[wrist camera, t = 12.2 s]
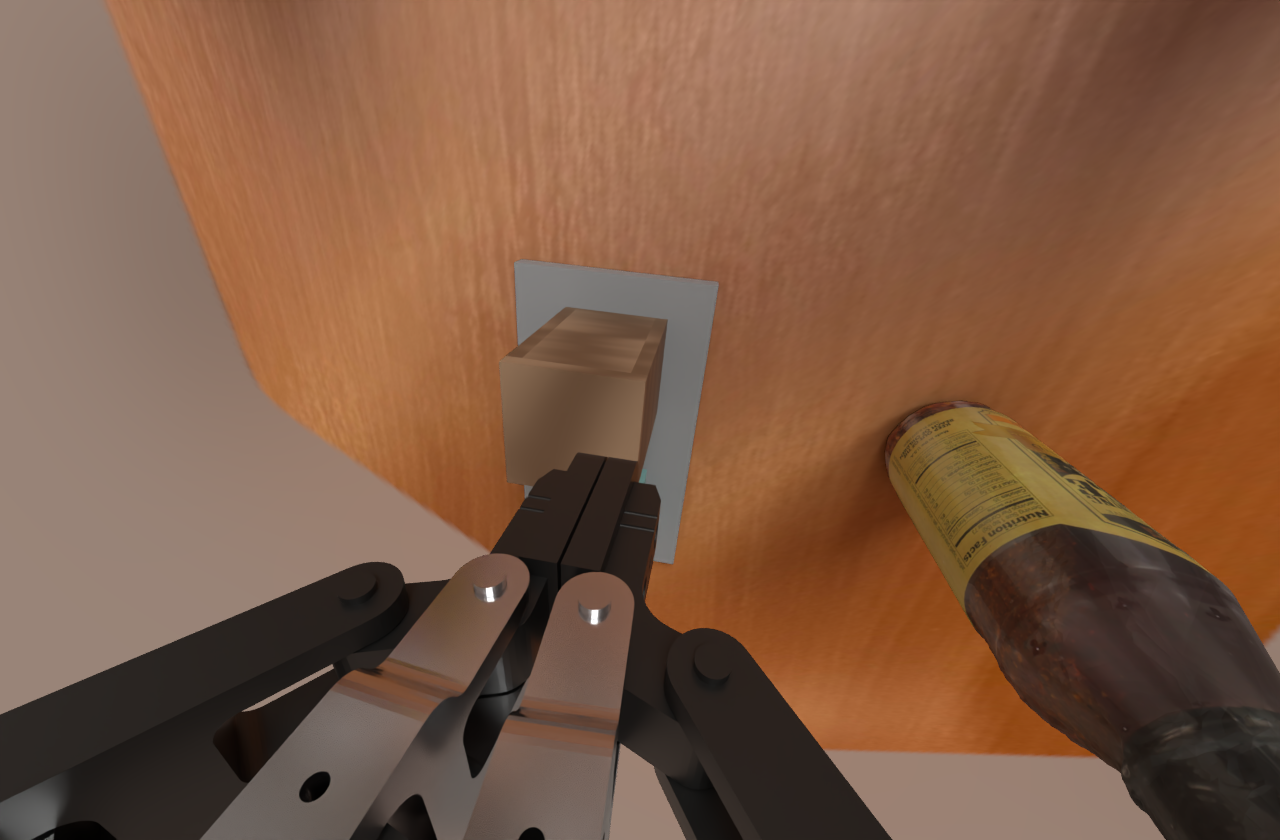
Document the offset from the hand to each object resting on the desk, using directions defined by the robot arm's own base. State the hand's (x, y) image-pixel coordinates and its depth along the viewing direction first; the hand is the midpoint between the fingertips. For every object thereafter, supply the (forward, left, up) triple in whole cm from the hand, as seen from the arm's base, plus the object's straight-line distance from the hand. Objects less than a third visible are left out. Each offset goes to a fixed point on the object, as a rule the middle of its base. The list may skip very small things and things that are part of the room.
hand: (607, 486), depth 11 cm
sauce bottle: (-15, +4, -14) cm, 21 cm away
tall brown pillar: (+2, +2, -13) cm, 13 cm away
